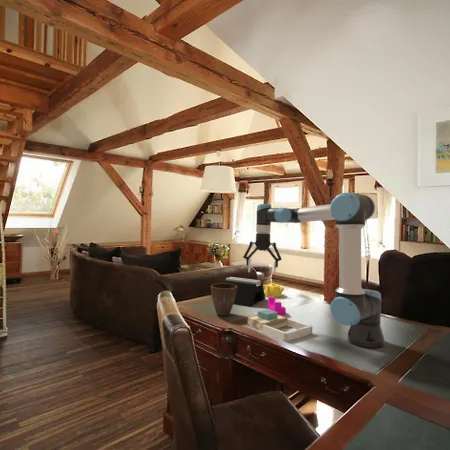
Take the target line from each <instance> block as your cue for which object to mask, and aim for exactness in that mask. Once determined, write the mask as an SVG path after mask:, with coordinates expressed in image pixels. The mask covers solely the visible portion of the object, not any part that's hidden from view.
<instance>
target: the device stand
mask: <svg viewBox="0 0 450 450" xmlns="http://www.w3.org/2000/svg"><path fill="white" fill-rule="evenodd" d="M223 283H226V284H234V285H236V286H237V291H236V296H235V300H234V303H233V306H234V305H235V306H242V307H247V308H251V307H254V306H255V305H257V304H259V303H261V302H263V301H264V300H266V297H265V290H264V288H263V285H264V283H263V281H261V279H260V280H258V279H249V278H244V277H242V278H241V277H234V276H229V277H226V278H225V280H223Z"/></svg>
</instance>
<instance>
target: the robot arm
mask: <svg viewBox="0 0 450 450" xmlns="http://www.w3.org/2000/svg"><path fill="white" fill-rule="evenodd" d="M375 210H376V205H375V203H374V201H373V199H372V198H371V197H370V196H369V195H366V194H362V193H361V194H360V193H356V192H355V193H354V192H342V193H339V194H338V195H336V196H335V197H334V198H333V199H332V201H331V202H330V204H322V205H313V206H306V207H297V208H288V207H272V205H271V204H270V203H258V204H257V206H256V225H255V227H256V228H255V232H256V234H255V241H250V242H249V245H248V247H247V249H246V251H245V253H244V254H243V256H242V258H243V259H245V260H246V266H247V272H248V273H250V272H251V264H252V263H251V260H252V259H251V257H252V256H253V255H254V254H256V252H257V251H258V250H259V251H264V252H265V251H267V252H268V253H269V254H270V256H271V257H272V258H273V260H274V261H273V274H274V275H275V274H276V273H277V272H276V271H277V270H276V269H277V268H278V267H279V262H280V261H282V257H281V254H280V252H279V250H278V247H277V243H276V242H271V234H270V233H271V225H272V224H271V223H279V224H285V223H286V224H287V223H288V224H290V223H291V224H301V223H306V222H319V221H330V220H331V221H332V220H334V225H335V227H336V228H337V229H338V252H339V253H338V255H339V256H338V261H339V262H338V266H339V267H338V270H339V271H338V274H339V276H338V278H339V279H338V285H339V286H338V287H337V288H336V289H335V297H334V299H332V301H331V303H330V306H329V307H330V313H331V316H332V317H333V319H335V321H336V322H337V323H339V324H341V325H343V326H349V329H348V332H347V335H346V336H347V341H348V342H349V343H351V344H352V345H353V344H354V345H355V346H358V347H363V348H369V349H370V348H371V349H372V348H373V349H376V348H377V349H378V348H383V347H384V346H385V341H386V340H385V336H384V333H383V331H382V330H383V329H382V328H381V327H382V326H381V322H382V321H381V317H382V314H381V312H382V294H381V292H379V291H378V290H372V289H368V288H367V289H366V288H363V287H362V229H363V228H364V227H366V221H367V220H369V219H370V218H371V217H373V215H374V213H375ZM254 245H255V248H254V249H253V250H252V252H251V253H250V254H249V252H250V251H251V249H252V247H253V246H254ZM270 247H272V248H273V249H274V252H273V251H272V249H271V248H270ZM248 254H249V255H248ZM275 254H276V255H275Z"/></svg>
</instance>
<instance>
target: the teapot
mask: <svg viewBox="0 0 450 450" xmlns="http://www.w3.org/2000/svg"><path fill="white" fill-rule="evenodd" d="M263 288H264V293H265V298H268V297H275V299H277V297H278V298H280V297H282V293H283V292H284V291H285V287H282V286H281V285H280V284H276V283H275V282H271V283H270V284H263Z"/></svg>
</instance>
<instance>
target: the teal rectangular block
mask: <svg viewBox="0 0 450 450" xmlns="http://www.w3.org/2000/svg"><path fill="white" fill-rule="evenodd" d="M257 315H258V317H259V318H262V319H264V320H267V321H268V320H272V319H277V316H278V312H275V311H272V310H269V309H268V308H267V309H262V310H258V311H257Z"/></svg>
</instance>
